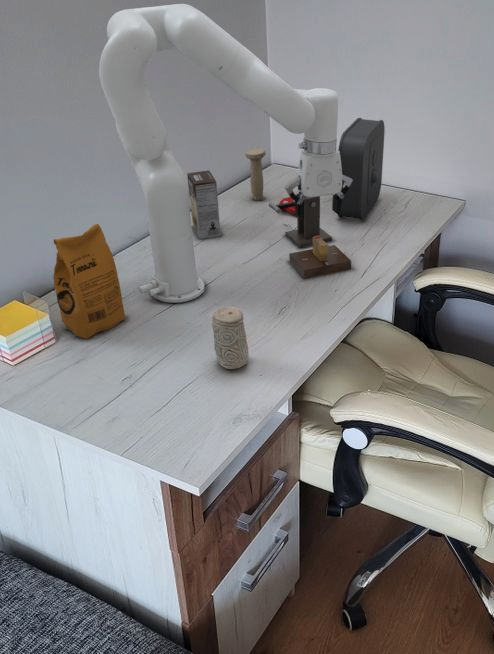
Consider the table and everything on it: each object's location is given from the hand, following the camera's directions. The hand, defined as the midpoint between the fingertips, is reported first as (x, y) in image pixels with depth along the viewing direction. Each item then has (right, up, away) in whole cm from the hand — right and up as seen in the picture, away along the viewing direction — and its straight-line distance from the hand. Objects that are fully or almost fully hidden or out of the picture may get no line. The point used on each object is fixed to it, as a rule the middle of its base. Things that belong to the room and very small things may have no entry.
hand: (318, 215), depth 164 cm
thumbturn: (0, -9, +7) cm, 11 cm away
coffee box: (-32, 0, +25) cm, 40 cm away
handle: (-19, +14, +45) cm, 51 cm away
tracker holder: (-6, +9, +39) cm, 40 cm away
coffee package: (-50, -28, -16) cm, 59 cm away
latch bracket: (-3, -2, +21) cm, 22 cm away
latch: (-7, +5, +14) cm, 16 cm away
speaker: (+13, +10, +39) cm, 42 cm away
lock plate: (0, -11, +8) cm, 14 cm away
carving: (-17, -36, -28) cm, 49 cm away
